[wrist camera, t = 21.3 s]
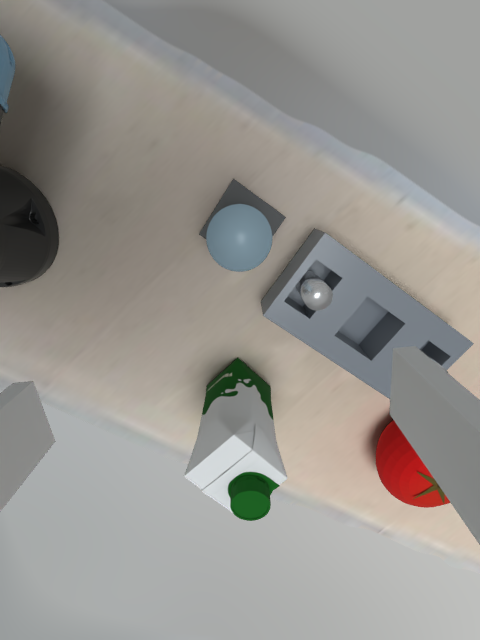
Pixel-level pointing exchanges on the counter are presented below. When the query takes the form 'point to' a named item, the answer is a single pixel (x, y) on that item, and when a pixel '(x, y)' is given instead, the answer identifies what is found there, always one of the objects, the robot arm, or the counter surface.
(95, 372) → the counter surface
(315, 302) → the plunger
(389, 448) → the tomato
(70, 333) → the counter surface
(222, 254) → the cartridge
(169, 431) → the counter surface
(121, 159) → the counter surface
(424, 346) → the housing
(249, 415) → the milk carton
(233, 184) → the mat
